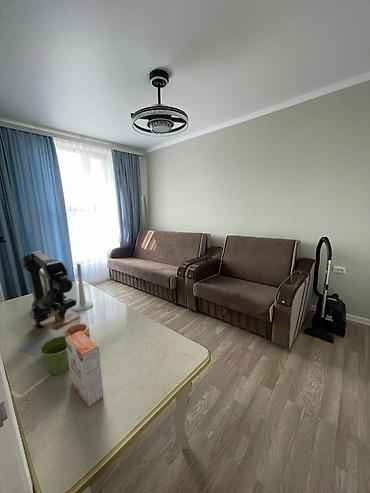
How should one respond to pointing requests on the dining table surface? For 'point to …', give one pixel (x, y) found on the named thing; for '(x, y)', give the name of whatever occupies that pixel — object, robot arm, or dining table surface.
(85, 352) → the cracker box
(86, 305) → the candlestick
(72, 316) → the lid
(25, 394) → the dining table surface
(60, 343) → the plant pot
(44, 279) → the hardback book
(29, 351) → the mat
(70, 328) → the bowl
